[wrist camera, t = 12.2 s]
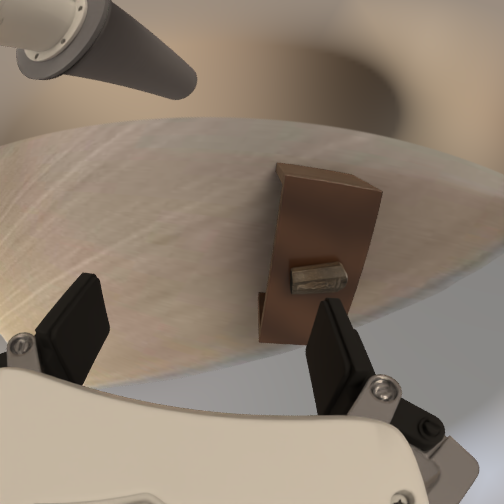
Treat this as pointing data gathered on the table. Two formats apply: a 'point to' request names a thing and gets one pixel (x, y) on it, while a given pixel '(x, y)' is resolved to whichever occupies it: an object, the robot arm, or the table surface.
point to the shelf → (314, 245)
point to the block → (318, 278)
